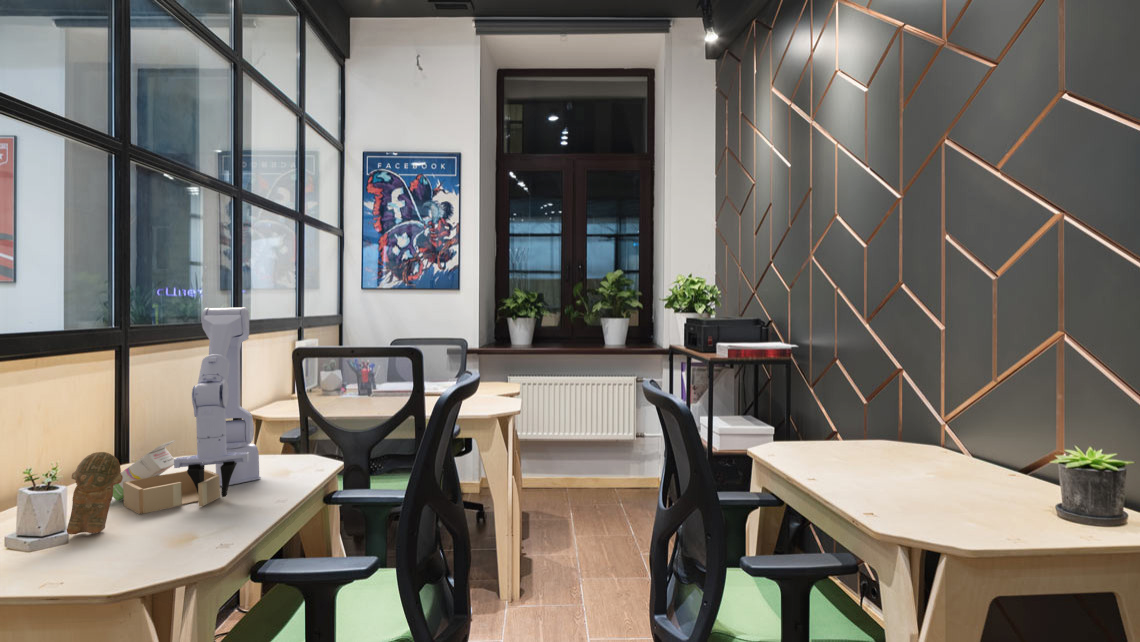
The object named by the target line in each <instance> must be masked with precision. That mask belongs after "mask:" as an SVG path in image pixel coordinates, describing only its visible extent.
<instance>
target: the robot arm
mask: <svg viewBox="0 0 1140 642" xmlns="http://www.w3.org/2000/svg"><path fill="white" fill-rule="evenodd" d="M249 314H250V313H249V309H248V308H247V307H246V306H242V307H212V308H211V307H205V308H204V309H203V311H202V313H201V327H202V330H203V331H204V333H205V334H206V337H207V338H208V340H209V343H208V344H209V346H208V355H207V356H205V357H204V358H203V359H202V361H201V365H200V370H199V375H198V381H197V384H196V385H193V386H192V389H191V390H192V391H191V403H192V407H193V415H194V416H193V417H194V418H196V419H195V420H196V421H195V422H196V423H195V425H196V451H197V452H196V455H190V456H189V455H188V456H181V457H175V458H174V465H173V467H174V468H173V469H180V468H184V467H187V470H186V471H187V473H188V475H189V476H190V477H191V479H192V481H193V482H194V484H195V487H196V489H197V492H198V483H201V482H203V481H204V469H205V468H206V467H205V466H209V465H215V473H216V474H219V480H220V487H221V498H225V497H227V495H228V491H229V486H233V485H238V484H243V483H246V482H252V481H257V480H260V479H261V476H260V454H259V453H260V452H259V449H258V447H257V445H256V444H255V443H252V442H253V441H254V436H255V435H254V434H255V433H254V429H255V427H254V421H253V420H254V419H253V415H252V413H251V412H250V411H249V410H247V409H246V408H244V407H242V406H241V347H242V344H243V342H245V341H247V340H249V336H250V315H249ZM227 419H229V420H227ZM234 419H235V420H234Z"/></svg>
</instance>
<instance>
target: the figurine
mask: <svg viewBox="0 0 1140 642" xmlns="http://www.w3.org/2000/svg"><path fill="white" fill-rule="evenodd" d="M121 468H122V467H121V464H120V462H119V459H118V458H117V457H116V456H114V455H113V454H111V453H109V452H105V451H98V452H93V453H91V454H89V455H87V456H85V457H84V458H82V460H81V461H80V462H79V464H78V465H77V468H76V469H75V471H73V473H72V474H71V479H72V480H75V485H76V486H75V488H74V491H73V493H72V505H71V512H70V517H69V519H68V524H67V527H66V533H67V534H68V535H77V534H82V533H89V534H99V533H101V532H102V531H104V530H105V528H106V524H107V519H108V514H109V510H110V505H111V504H112V503H111V502H112V500H113V498H114V497H113V486H114V485H116V484H119V483H121V481H122V479H123V476H122V475H121V472H122V469H121Z"/></svg>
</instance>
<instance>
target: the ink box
mask: <svg viewBox="0 0 1140 642" xmlns="http://www.w3.org/2000/svg"><path fill="white" fill-rule="evenodd" d="M175 441H176V439H174V440H171V441H168V442H164V443H162V444H160V445H158V446H157V447H155V448H153V449H152V450H151V451H149V452H148V453H146V454H145V455H143V456H142V457H140V459H138V460H136V461H135V462H134V463H132V464H131V465H129V466H128V467H127V468H126V469H124V470H123V471H121V475H122V476H123V479H122V481H121V483H119V484H116V485H114V486H113V497H112V498H114V499H115V501H116V502H119V501H120V500H124V497H123V482H126V481H131V480H137V479H142V478H148V477H153V476H159V475H163V473H165V472H166V471H167V470H169V469H170V468H172V467H174V459H175V458H174V457H173V456H172V454H171V453H170V452H169V450H168V449H167V448H166V447H169V445H172V444H173V443H174V442H175Z"/></svg>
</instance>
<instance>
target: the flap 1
mask: <svg viewBox="0 0 1140 642" xmlns="http://www.w3.org/2000/svg"><path fill="white" fill-rule="evenodd" d="M142 490H143V513H144V514H148V512H149V513H153V512H156V511H157V510H158V511H162V509H163V510H166V509H167V510H168V509H171V507H172V508H175V507H176V508H177V507H180V506H183V505H182V491H181V482H178V483H172V484H167V485H162V486H157V487H151V488H146V489H142ZM158 511H157V512H158Z"/></svg>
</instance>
